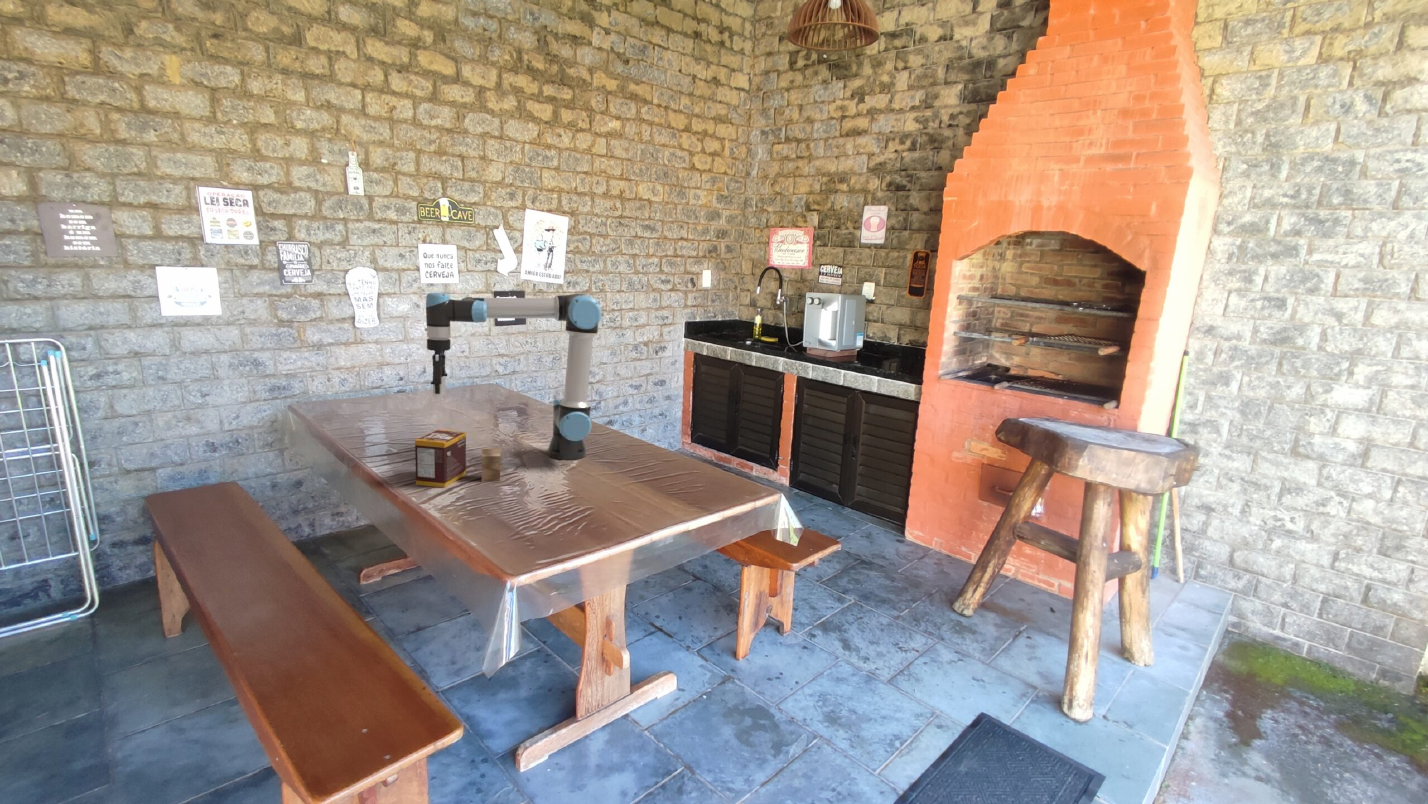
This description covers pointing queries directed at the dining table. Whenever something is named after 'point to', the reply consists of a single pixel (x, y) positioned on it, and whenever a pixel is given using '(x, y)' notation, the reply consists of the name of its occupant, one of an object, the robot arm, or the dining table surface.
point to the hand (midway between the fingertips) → (439, 398)
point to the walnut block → (490, 465)
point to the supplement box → (440, 458)
